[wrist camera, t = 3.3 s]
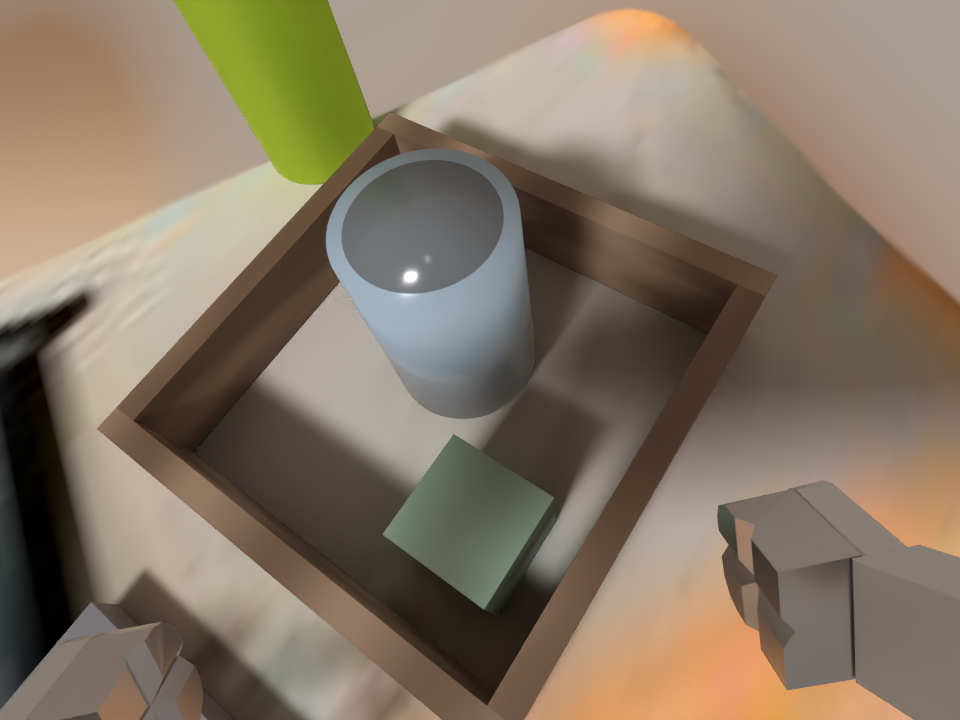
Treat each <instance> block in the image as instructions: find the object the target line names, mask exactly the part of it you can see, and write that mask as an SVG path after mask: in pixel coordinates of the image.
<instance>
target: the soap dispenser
mask: <svg viewBox="0 0 960 720" xmlns="http://www.w3.org/2000/svg"><path fill="white" fill-rule="evenodd" d="M174 2H175V4H176V5H177V7H178V9H179V10H180V12H181V13H182V15H183V17H184V18H185V20H186V22H187V23H188V25H189V27H190V28H191V30H192V31H193V33H194V35H195V36H196V38H197V40H198V41H199V43H200V45H201V46H202V48H203V50H204V51H205V53H206V55H207V56H208V58H209V60H210V61H211V63H212V65H213V66H214V68H215V70H216V71H217V73H218V74H219V76H220V78H221V79H222V81H223V83H224V84H225V86H226V87H227V89H228V91H229V92H230V94H231V96H232V98H233V99H234V101H235V103H236V104H237V106H238V107H239V109H240V111H241V112H242V114H243V116H244V117H245V119H246V120H247V122H248V124H249V126H250V127H251V129H252V131H253V132H254V134H255V135H256V137H257V139H258V140H259V142H260V144H261V145H262V147H263V149H264V150H265V152H266V154H267V155H268V157H269V159H270V160H271V162H272V164H273V165H274V167H275V168H276V170H277V171H278V172H279V173H280V174H281V175H282V176H283V177H285V178H286V179H288V180H290V181H293V182H296V183H300V184H322V183H325V182H326V181H327V180H328V179H329V178H330V177H331V175H332V174H333V173H334V172H335V171H336V170H337V169H338V168H339V167H340V166H341V165H342V164H343V162H344V161H345V160H346V159H347V158H348V157H349V156H350V155H351V154H352V153H353V152H354V151H355V150H356V148H357V147H358V146H359V145H360V144H361V143H362V142H363V141H364V140H365V139H366V138H367V137H368V136H369V134H370V133H371V132H372V131H373V130H374V129H375V128H374V124H373V122H372V119H371V116H370V114H369V111H368V108H367V105H366V103H365V100H364V97H363V95H362V92H361V89H360V86H359V84H358V81H357V78H356V76H355V73H354V70H353V68H352V65H351V62H350V60H349V57H348V54H347V51H346V49H345V46H344V43H343V41H342V38H341V35H340V32H339V30H338V27H337V24H336V22H335V19H334V16H333V13H332V11H331V8H330V5H329V3H328V0H174Z"/></svg>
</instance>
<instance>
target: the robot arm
mask: <svg viewBox="0 0 960 720" xmlns="http://www.w3.org/2000/svg"><path fill="white" fill-rule="evenodd" d="M717 516H718V527H719V531H720V533H721V534H722V536H723V537H724V538H725V540H726V541H727V543H728V544H729V545H728V547H727V549H726V550H725V552H724V554H723V555H722V561H723V568H724V575H725V579H726V582H727V586H728V589H729V592H730V596H731V598H732V600H733V602H734V604H735V606H736V609H737V611H738V612H739V614H740V616H741V617H742V619H743V621H744V622H745V624H746V625H748V626H750V627H752V628H754V629H756V630H758V631H759V634H760V643H761V650H762V652H763V653H764V655H765V656H766V658H767V659H768V661H769V663H770V664H771V666H772V667H773V669H774V671H775V672H776V674H777V675H778V677H779V678H780V680H781V682H782V683H783V685H784V686H785V688H786V690H792V689H798V688H804V687H810V686H816V685H822V684H828V683H834V682H840V681H846V680H852V679H856V683H858V684H859V685H861V686H862V687H864V688H865V689H867V690H869V691H870V692H872V693H873V694H875V695H876V696H878V697H880V698H881V699H883V700H884V701H886V702H887V703H889V704H890V705H892V706H894V707H895V708H897V709H898V710H900V711H901V712H903V713H905V714H906V715H908V716H909V717H911V718H912V719H914V720H960V558H959V557H956V556H953V555H950V554H947V553H943V552H940V551H937V550H934V549H931V548H928V547H925V546H921V545H917V546H912V547H907V546H906V545H904V544H903V543H902V542H901V541H900V540H899V539H897V538H896V537H895V536H894V535H893V534H892V533H890V532H889V531H888V530H887V529H886V528H884V527H883V526H882V525H881V524H880V523H879V522H877V521H876V520H875V519H874V518H873V517H871V516H870V515H869V514H868V513H867V512H866V511H864V510H863V509H862V508H861V507H860V506H859V505H857V504H856V503H855V502H854V501H853V500H851V499H850V498H849V497H848V496H847V495H846V494H844V493H843V492H842V491H841V490H840V489H838V488H837V487H836V486H835V485H834V484H833V483H831V482H827V481H824V480H823V481H819V482H815V483H811V484H807V485H803V486H799V487H794V488H790V489H788V490H786V491H782V492H777V493H773V494H768V495H764V496H759V497H754V498H750V499H745V500H741V501H736V502H732V503H727V504H723V505H719V506H718V514H717ZM182 645H183V640H182V638H181V636H180V635H179V633H178V631H177V629H176V627H175V625H174V624H171V623H167V622H164V621H162V622H157V623H152V624H146V625H141V626H135V627H130V628H125V629H119V630H114V631H109V632H103V633H100V634H93V635H89V636H84V637H79V638H74V639H70V640H67V641H65V642H63V643H61V644H59V645H57V646H56V647H55V648H54V649H53V650H52V652H51V653H50V654H49V655H48V656H47V658H46V659H45V660H44V661H43V662H42V664H41V665H40V666H39V667H38V668H37V670H36V671H35V672H34V673H33V674H32V675H31V677H30V678H29V679H28V680H27V681H26V683H25V684H24V685H23V686H22V687H21V689H20V690H19V691H18V692H17V693H16V695H15V696H14V697H13V698H12V699H11V700H10V702H9V703H8V704H7V705H6V706H5V708H4V709H3V710H2V711H1V712H0V720H200V717H201V711H202V703H203V689H202V683H201V678H200V676H199V674H198V672H197V669H196V667H195V665H193V664H192V663H190V662H188V661H187V660H185V659H184V658H182V657H180V656H179V654H180V651H181V648H182Z"/></svg>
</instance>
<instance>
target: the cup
mask: <svg viewBox="0 0 960 720" xmlns="http://www.w3.org/2000/svg"><path fill="white" fill-rule="evenodd" d="M326 249H327V255H328V258H329V261H330V264H331V266H332V268H333V270H334V272H335V274H336V275H337V277H338V279H339V280H340V282H341V284H342V285H343V287H344V288H345V290H346V292H347V293H348V295H349V296H350V298H351V300H352V301H353V303H354V305H355V306H356V308H357V309H358V311H359V313H360V314H361V316H362V317H363V319H364V321H365V322H366V324H367V326H368V327H369V329H370V330H371V332H372V334H373V335H374V337H375V339H376V340H377V342H378V343H379V345H380V347H381V348H382V350H383V351H384V353H385V355H386V356H387V358H388V360H389V361H390V363H391V364H392V366H393V368H394V369H395V371H396V373H397V374H398V376H399V377H400V379H401V381H402V382H403V384H404V385H405V387H406V389H407V390H408V392H409V393H410V394H411V396H412V397H413V398H414V399H415V400H416V401H417V402H418V403H419V404H420V405H422V406H423V407H424V408H426V409H427V410H429V411H431V412H433V413H435V414H438V415H441V416H445V417H449V418H457V419H469V418H476V417H481V416H484V415H488V414H490V413H492V412H495V411H497V410H499V409H500V408H502V407H504V406H505V405H507V404H508V403H509V402H511V401H512V400H513V399H514V398H515V397H516V396H517V395H518V394H519V393H520V392H521V391H522V389H523V388H524V387H525V385H526V383H527V382H528V380H529V378H530V376H531V373H532V371H533V367H534V363H535V340H534V331H533V322H532V313H531V304H530V295H529V286H528V276H527V267H526V258H525V249H524V240H523V231H522V222H521V213H520V207H519V201H518V198H517V195H516V193H515V190H514V189H513V187H512V185H511V183H510V182H509V180H508V179H507V178H506V177H505V175H504V174H503V173H502V172H501V171H499V170H498V169H497V168H496V167H495V166H493V165H492V164H491V163H489V162H488V161H486V160H484V159H482V158H480V157H478V156H475V155H472V154H470V153H467V152H462V151H458V150H452V149H422V150H416V151H411V152H407V153H403V154H400V155H397V156H394V157H392V158H389V159H387V160H385V161H383V162H381V163H379V164H377V165H375V166H373V167H372V168H370V169H369V170H367V171H366V172H364V173H363V174H362V175H361V176H359V177H358V178H357V179H356V180H355V181H354V182H353V183H352V184H351V185H350V186H349V187H348V188H347V189H346V190H345V192H344V193H343V194H342V195H341V197H340V198H339V200H338V201H337V203H336V205H335V207H334V209H333V211H332V213H331V215H330V219H329V222H328V225H327V232H326Z"/></svg>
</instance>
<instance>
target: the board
mask: <svg viewBox="0 0 960 720" xmlns="http://www.w3.org/2000/svg"><path fill="white" fill-rule="evenodd" d="M135 626H139V625H138V624H137V623H136V622H135V621H134V620H133V619H132V618H131V617H130V616H129V615H128V614H127V613H126V612H125V611H124V610H123V609H122V608H121V607H120V606H119V605H115V604H105V603H95V602H91V603H90V604H89V605H88V607H87V608H86V609H85V610H84V611H83V612H82V614H81V615H80V616H79V617H78V618H77V620H76V621H75V622H74V623H73V624H72V626H71V627H70V628H69V629H68V630H67V631H66V633H65V634H64V635H63V636H62V637H61V639H60V640H59V641H58V642H57V643H56V645H55V646H54V647H53V648H52V649H51V650H50V652H49V653H48V654H47V655H46V656H45V658H44V659H43V660H42V661H41V662H40V664H39V665H38V666H37V667H36V668H35V669H34V671H33V672H32V673H31V674H30V675H29V677H28V678H27V679H26V680H25V681H24V682H23V684H22V685H21V686H20V687H19V688H18V690H17V691H16V692H15V693H14V694H13V696H12V697H11V698H10V699H9V700H8V701H7V703H6V704H5V705H4V706H3V707H2V709H1V710H0V712H1V711H2V710H3V709H4V708H5V706H6V705H7V704H8V703H9V702H10V700H11V699H12V698H13V697H14V696H15V695H16V693H17V692H18V691H19V690H20V689H21V687H22V686H23V685H24V684H25V683H26V681H27V680H28V679H29V678H30V677H31V675H32V674H33V673H34V672H35V671H36V670H37V668H38V667H39V666H40V665H41V664H42V662H43V661H44V660H45V659H46V658H47V656H48V655H49V654H50V653H51V652H52V650H53V649H54V648H55V647H56V646H57V645H59V644H61V643H63V642H65V641H67V640H70V639H74V638H79V637H84V636H89V635H93V634H100V633H103V632H109V631H114V630H119V629H125V628H130V627H135ZM202 689H203V688H202ZM200 720H234V719H233V718H232V717H231V716H230V715H229V714H228V713H227V712H226V711H225V710H224V709H223V708H222V707H221V706H220V705H219V704H218V703H217V702H216V701H215V700H214V699H213V698H212V697H211V696H210V695H209V694H208V693H207V692H206V691H205V690H204V689H203V703H202V711H201V717H200Z"/></svg>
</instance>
